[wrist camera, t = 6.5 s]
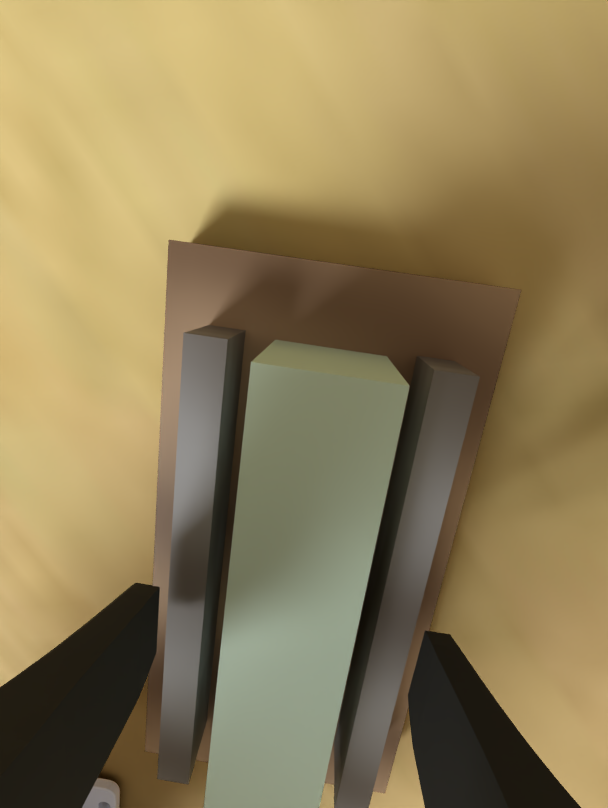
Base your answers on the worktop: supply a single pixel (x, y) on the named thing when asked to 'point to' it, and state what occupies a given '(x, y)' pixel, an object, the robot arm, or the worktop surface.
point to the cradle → (220, 463)
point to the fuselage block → (299, 566)
